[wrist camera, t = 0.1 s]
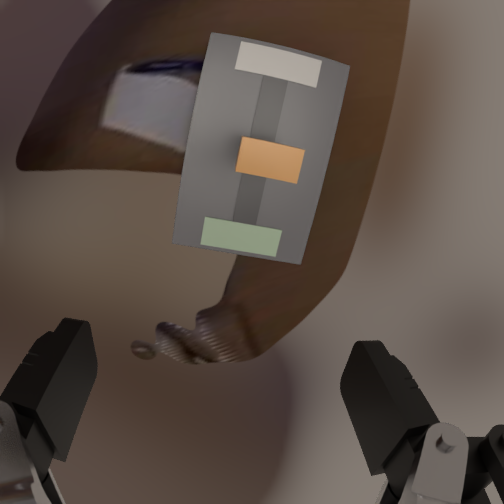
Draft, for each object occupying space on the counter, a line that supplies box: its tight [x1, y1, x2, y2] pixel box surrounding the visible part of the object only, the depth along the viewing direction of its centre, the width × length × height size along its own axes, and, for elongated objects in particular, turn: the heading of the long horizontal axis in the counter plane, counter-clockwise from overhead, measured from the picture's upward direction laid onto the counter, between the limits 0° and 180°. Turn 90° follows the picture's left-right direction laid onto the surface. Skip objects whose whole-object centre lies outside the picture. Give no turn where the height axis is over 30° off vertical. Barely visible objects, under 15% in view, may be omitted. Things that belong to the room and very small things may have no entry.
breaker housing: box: [172, 32, 350, 265], centre depth 32 cm, size 22×14×5 cm, turn 168°
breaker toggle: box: [235, 136, 305, 184], centre depth 26 cm, size 3×5×8 cm, turn 78°
